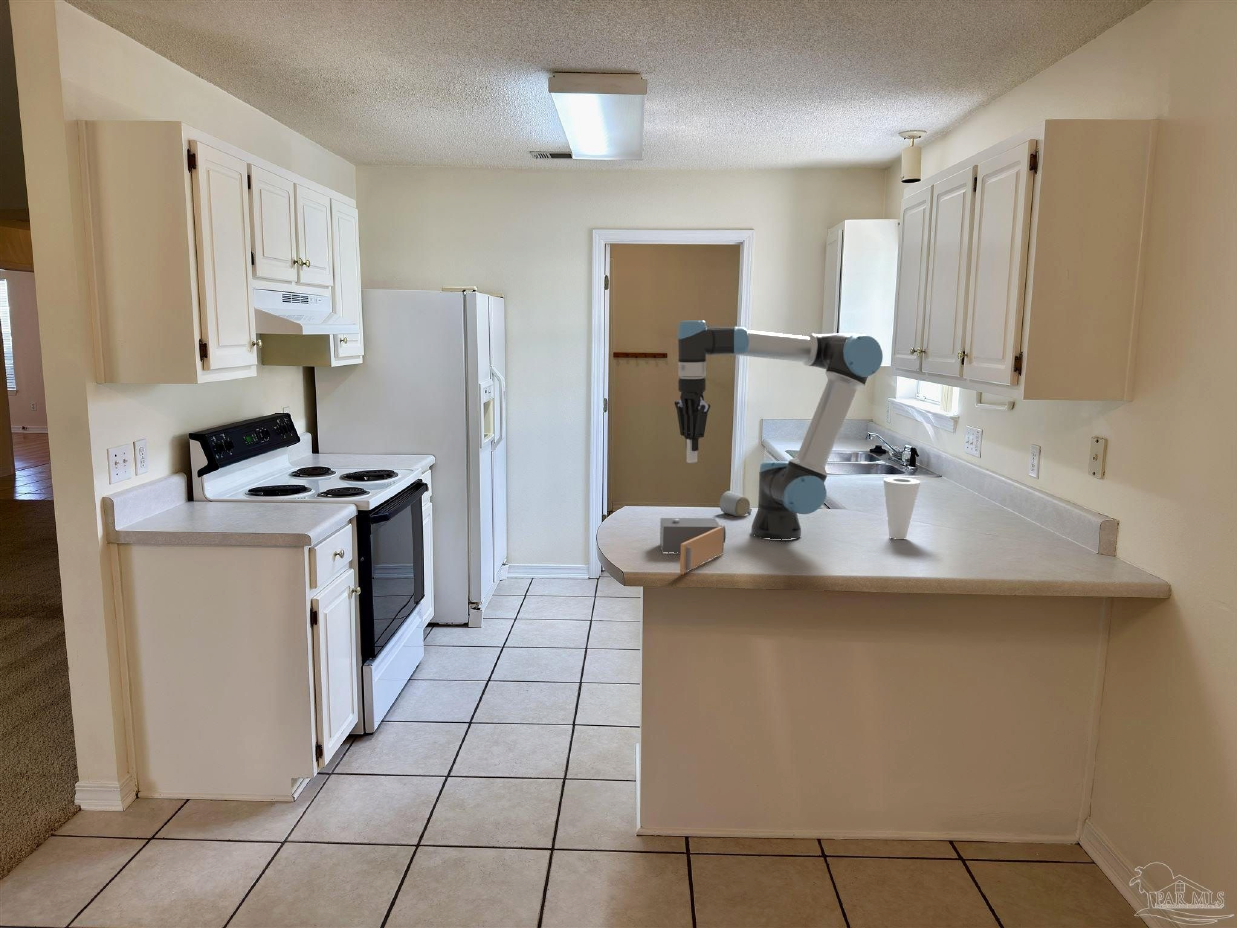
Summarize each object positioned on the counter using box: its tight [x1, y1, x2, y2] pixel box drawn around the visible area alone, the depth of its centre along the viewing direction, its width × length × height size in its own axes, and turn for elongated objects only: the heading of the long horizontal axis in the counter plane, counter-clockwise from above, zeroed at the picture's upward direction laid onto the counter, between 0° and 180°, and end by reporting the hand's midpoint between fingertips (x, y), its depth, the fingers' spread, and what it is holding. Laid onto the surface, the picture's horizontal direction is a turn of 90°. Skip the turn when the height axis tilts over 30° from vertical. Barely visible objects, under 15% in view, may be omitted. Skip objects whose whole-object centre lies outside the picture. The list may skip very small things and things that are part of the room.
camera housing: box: [659, 517, 727, 553], centre depth 240 cm, size 18×10×9 cm, turn 92°
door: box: [679, 525, 725, 575], centre depth 225 cm, size 24×2×8 cm, turn 147°
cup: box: [883, 476, 921, 539], centre depth 255 cm, size 11×11×18 cm
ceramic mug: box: [718, 490, 753, 518], centre depth 284 cm, size 11×8×8 cm
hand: (692, 461), depth 233 cm, fingers closed
